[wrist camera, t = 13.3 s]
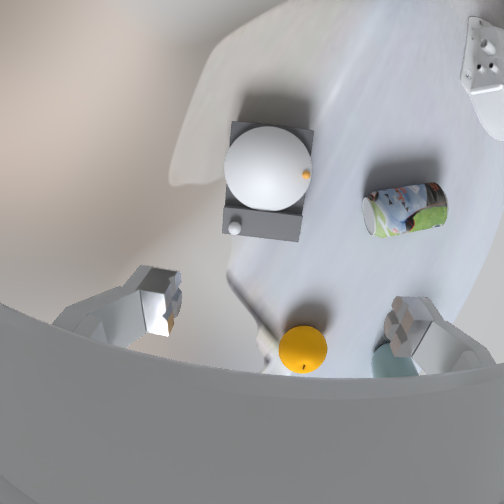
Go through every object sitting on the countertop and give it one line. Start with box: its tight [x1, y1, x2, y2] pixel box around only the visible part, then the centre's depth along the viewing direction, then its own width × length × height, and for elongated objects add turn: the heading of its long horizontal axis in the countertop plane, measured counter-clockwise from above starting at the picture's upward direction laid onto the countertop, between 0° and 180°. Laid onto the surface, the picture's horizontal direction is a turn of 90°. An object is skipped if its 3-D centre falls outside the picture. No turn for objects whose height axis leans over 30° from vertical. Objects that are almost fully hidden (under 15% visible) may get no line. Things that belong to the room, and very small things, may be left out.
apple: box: [279, 326, 327, 373], centre depth 43 cm, size 8×8×8 cm
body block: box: [222, 121, 314, 242], centre depth 32 cm, size 13×10×6 cm
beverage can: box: [362, 182, 449, 238], centre depth 32 cm, size 6×7×12 cm
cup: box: [371, 342, 419, 378], centre depth 42 cm, size 8×8×10 cm
